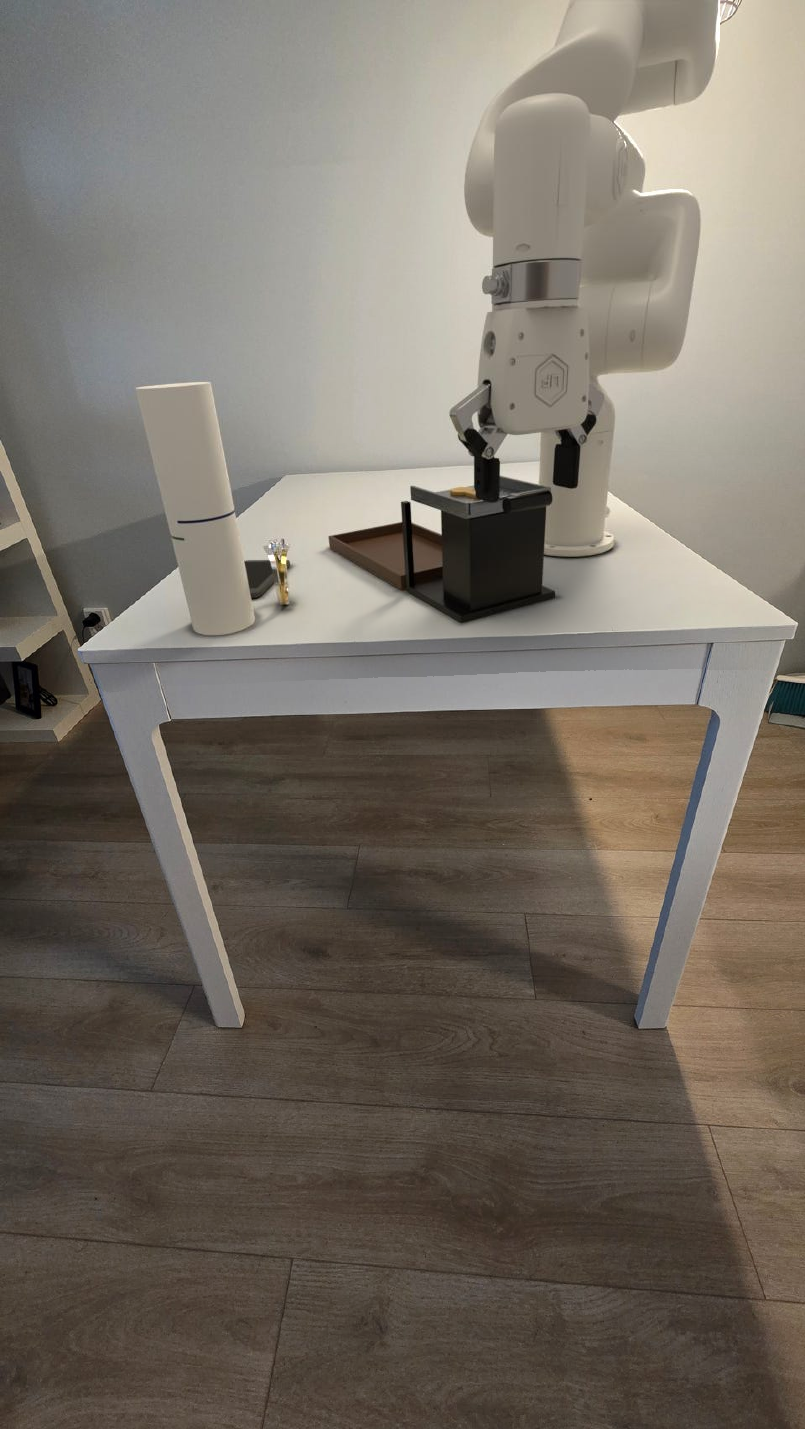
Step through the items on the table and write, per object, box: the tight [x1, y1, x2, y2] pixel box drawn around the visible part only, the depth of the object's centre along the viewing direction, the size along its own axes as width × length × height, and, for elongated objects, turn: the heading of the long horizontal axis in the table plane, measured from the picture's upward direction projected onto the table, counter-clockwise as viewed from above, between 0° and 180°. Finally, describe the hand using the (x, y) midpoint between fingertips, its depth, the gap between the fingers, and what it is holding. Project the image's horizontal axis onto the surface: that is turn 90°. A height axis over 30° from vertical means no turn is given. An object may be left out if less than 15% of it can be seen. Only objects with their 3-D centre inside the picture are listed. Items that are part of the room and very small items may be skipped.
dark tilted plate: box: [409, 475, 553, 519], centre depth 71 cm, size 16×11×2 cm
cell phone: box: [244, 559, 291, 598], centre depth 88 cm, size 7×14×1 cm, turn 171°
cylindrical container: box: [135, 381, 256, 636], centre depth 69 cm, size 7×7×25 cm
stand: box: [400, 500, 556, 624], centre depth 76 cm, size 13×13×11 cm
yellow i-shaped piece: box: [449, 486, 480, 500], centre depth 74 cm, size 7×3×1 cm, turn 28°
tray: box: [327, 521, 443, 591], centre depth 93 cm, size 24×14×2 cm, turn 28°
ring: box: [262, 538, 291, 606], centre depth 78 cm, size 7×3×8 cm, turn 3°
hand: (527, 493), depth 65 cm, fingers open, 9 cm apart
